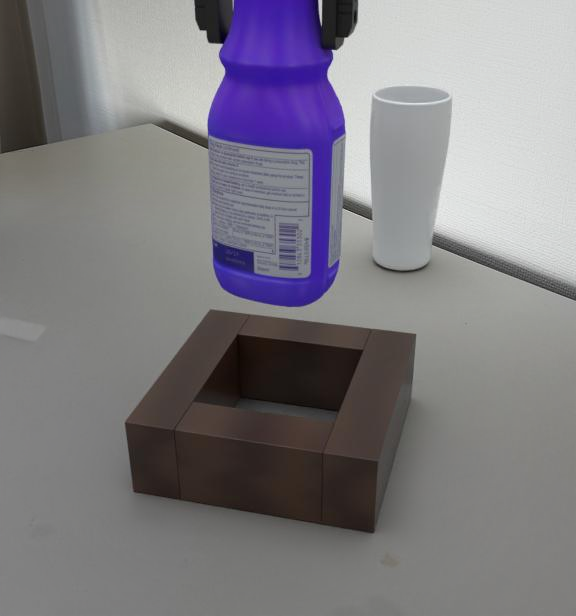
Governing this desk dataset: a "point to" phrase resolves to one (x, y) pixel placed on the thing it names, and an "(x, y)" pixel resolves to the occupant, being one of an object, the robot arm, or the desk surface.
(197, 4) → the robot arm
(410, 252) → the drinking glass
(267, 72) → the bottle
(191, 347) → the frame
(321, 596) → the desk surface
